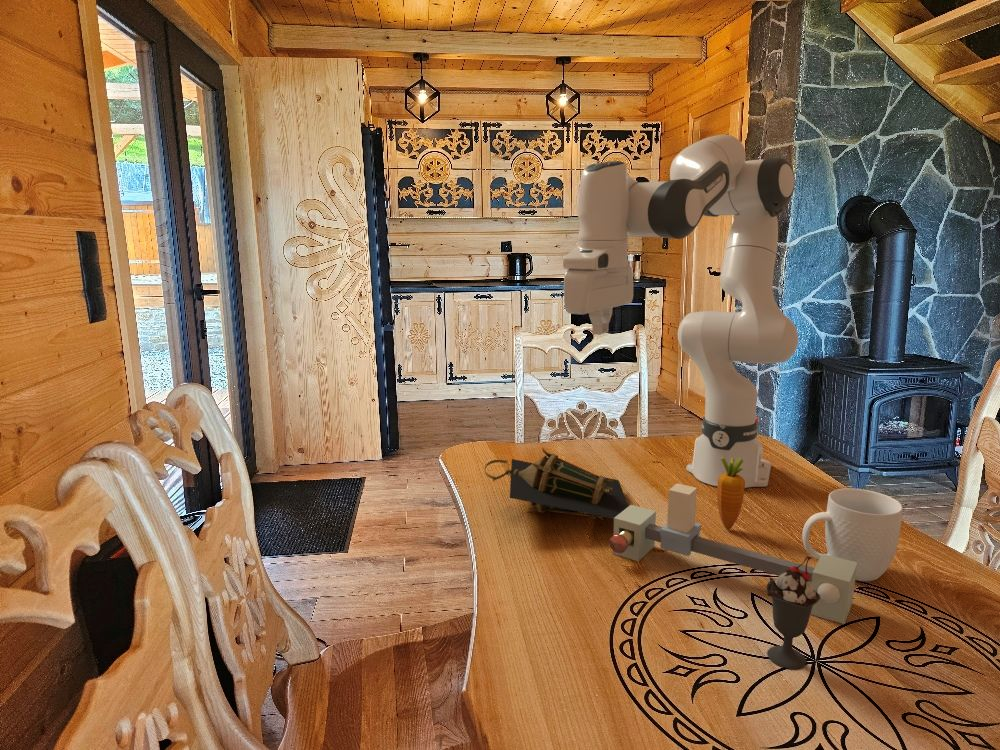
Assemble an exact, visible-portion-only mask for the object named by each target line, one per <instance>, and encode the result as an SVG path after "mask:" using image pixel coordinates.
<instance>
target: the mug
mask: <svg viewBox="0 0 1000 750" xmlns="http://www.w3.org/2000/svg"><path fill="white" fill-rule="evenodd" d="M827 498H828V500H827V505H826V511H822V512H821V511H820V512H817V513H815V514H812V515H810V517H809V518H808V519H807V520H806V521H805V523H804V526H803V527H802V528H803V529H802V534H801V537H802V544H803V546H804V549H805V550H806V552H807V553H808V554H809V555H810V556H811V557H813V558H815V559H816V560H817V559H818V560H819V559H820V557H821V555H822V554H823V553H822V552H817V551H815V550H814V548H812V546H811V544H810V532H811V529H812V528H813V526H814V525H815V524H816V523H817V522H820V521H825V526H824V527H825V530H824V531H825V532H824V533H825V534H824V536H825V547H826V551H827V553H825V554H826V555H830V556H834V557H837V558H841V559H845V560H849V561H853V562H857V569H856V578H855V581H857V582H858V581H859V582H873V581H875V580H877V579H879V578H881V576H882V575H883V574H884V573H885V572H886V571H887V570H888V568H889V567H890V565H891V564H892V561H893V559H894V558H895V554H896V553H897V549H898V545H899V538H900V536H901V535H900V534H901V526H902V518H903V505H902V504H901V503H900V502H899V501H898V500H897V499H894V498H893V497H892V496H890V495H886V494H884V493H881V492H877V491H873V490H868V489H862V488H850V487H849V488H848V487H847V488H838V489H835V490H832V491H831V492H830V493H829V494H828V497H827Z"/></svg>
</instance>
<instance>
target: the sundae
mask: <svg viewBox="0 0 1000 750" xmlns="http://www.w3.org/2000/svg"><path fill="white" fill-rule="evenodd" d="M811 559H812V556H809V555H808V556H807V555H806V556H805V559H804V561H803V562H802V563H800V564H801V565H804V563H805V562H806V564H805V565H806V569H805V570H806V572H802V573H800V569H799V567H800V566H801V565H799V566H798V567H796V566H793V567H791V569H790V570H787V571H784V572H783V573H782V574H780V575H779V576H778V575H777V579H776V578H775V579H774V578H772V577H770V576H769V578H768V580H769V582H767V583H766V586H765V587H766V593H767V596H768V597H771V604H772V606H771V607H772V618H773V624H774V625H773V626H774V627H775V628H776V629H777V631H778V632H779V633H780V635H781V634H782V636H783V642H782V645H774V646H771V647H769V649H768V650H767V653H766V654H767V658H769V660H770V661H771V662H772V663H773V664H775V665H777V666H778V667H780V668H785V669H789V670H799V669H802V668H803V667H805V666H806V665H807V659H806V657H805V656H804V654H803V653H802V652H800V651H799V650H797V649H795V648H793V641H794V638H797V637H800V636H802V635H803V634H804V633H805V631H806V629H807V627H808V624H809V621H810V617H811V610H812V607H813V605H814V604H816V603H817V602H818V601H819V599H820V595H819V594H818V593H817V592H816V591H815V588H814V586H813V584H812V583H811V582H810V581H809V579H810V574H809V573H808V572H807V566H808V564H809V563H808V562H809V560H811Z"/></svg>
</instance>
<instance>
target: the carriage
mask: <svg viewBox="0 0 1000 750" xmlns="http://www.w3.org/2000/svg"><path fill="white" fill-rule="evenodd" d="M697 493H698V488H697V487H694V486H690V485H685V484H682V483H676V484H674V485H673V486H672V487H671V488H669V489H668V502H667V503H668V505H667V522H666V523H665V524H664V526H661V527H662V528H661V529H660V536H661V542H660V549H662V550H664V551H665V550H666V551H668V552H669V551H670V552H671V553H676V554H680V555H683V556H686V557H690V555H691V553H692V551H691V540H692V539H693V538H694V537H695V536H698V537H700V534H701V533H700V532H701V530H702V523H699V522H696V513H697V512H696V511H697V510H696V508H697Z"/></svg>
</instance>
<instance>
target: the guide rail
mask: <svg viewBox="0 0 1000 750" xmlns="http://www.w3.org/2000/svg"><path fill="white" fill-rule="evenodd" d="M628 506H629V507H627V508H626V509H625V510H624V511H622V512H621V513H620V514H618V515H617V516H616V517H615V518H614V519H613V535H612V536H614V535H615V534H620V533H621V532H622V531H623V530H624V529H627V530H631V531H634V540H633V541H632V542H631V543H630V544H629V545H628V548H627V549H626V550H625V551H624V552H623V553H616V552H614V551H613V550H612V554H613V555H616V556H619V557H623V558H625V559H629V560H633V561H636V562H640V561H641V560H642V559H643V558H644V557H645V556H646V555H647V554H648V553H649V552H650V551H651V550H652V549H653V548H655V542H658V543H661V536H660V529H661V528H662V527H663V526H660V525H657V524H656V519H657V518H656V517H657V511H656V510H653V509H649V508H644V507H641V506H638V505H633V504H630V505H628ZM691 552H693V553H698V554H699V555H705V556H708V557H709V558H710V557H711V558H713V559H717V560H718V559H719V560H722V561H725V562H728V563H733V564H736V565H740V566H743V567H746V568H749V569H753V570H755V571H756V570H757V571H761V572H762V573H763V572H764V573H768V574H771V575H775V576H777V577H778V576H779V575H780V574H782V573H783V572H784V571H787V570H790V569H791V567H793V566H796V567H798V566H799V565H801V564H802V563H798V562H794V561H791V560H787V559H783V558H779V557H776V556H771V555H768V554H765V553H761V552H757V551H753V550H751V549H750V550H749V549H745V548H742V547H738V546H735V545H731V544H727V543H723V542H720V541H716V540H712V539H708V538H704V537H701V536H699V537H698V536H695V537H694V538H693V539H692V540H691ZM821 554H822V555H821V557H820V559H818V561H817V563H816V565H815V567H814V566H810V565H807V572H808V573H809V574H810V579H809V581H810V582H811V583H812V584H813V586H814V588H815V591H816V592H817V593H818V594H819V595H820V599H819V601H818V602H817V603H816V604H814V605H813V607H812V610H811V614H810V616H811V615H812V616H815V617H818V618H821V619H825V620H828V621H831V622H834V621H835V623H837V622H839V623H838V624H841V623H842V624H841V625H844V624H846V622H847V619H848V617H849V613H850V611H851V608H852V605H853V601H854V600H853V599H854V593H855V584H856V580H855V578H856V569H857V562H853V561H849V560H845V559H841V558H837V557H834V556H830V555H826V554H827V553H821ZM799 569H800V573H802V572H806V570H805V569H806V564H802V565H801V566H800V567H799ZM847 616H848V617H847Z"/></svg>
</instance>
